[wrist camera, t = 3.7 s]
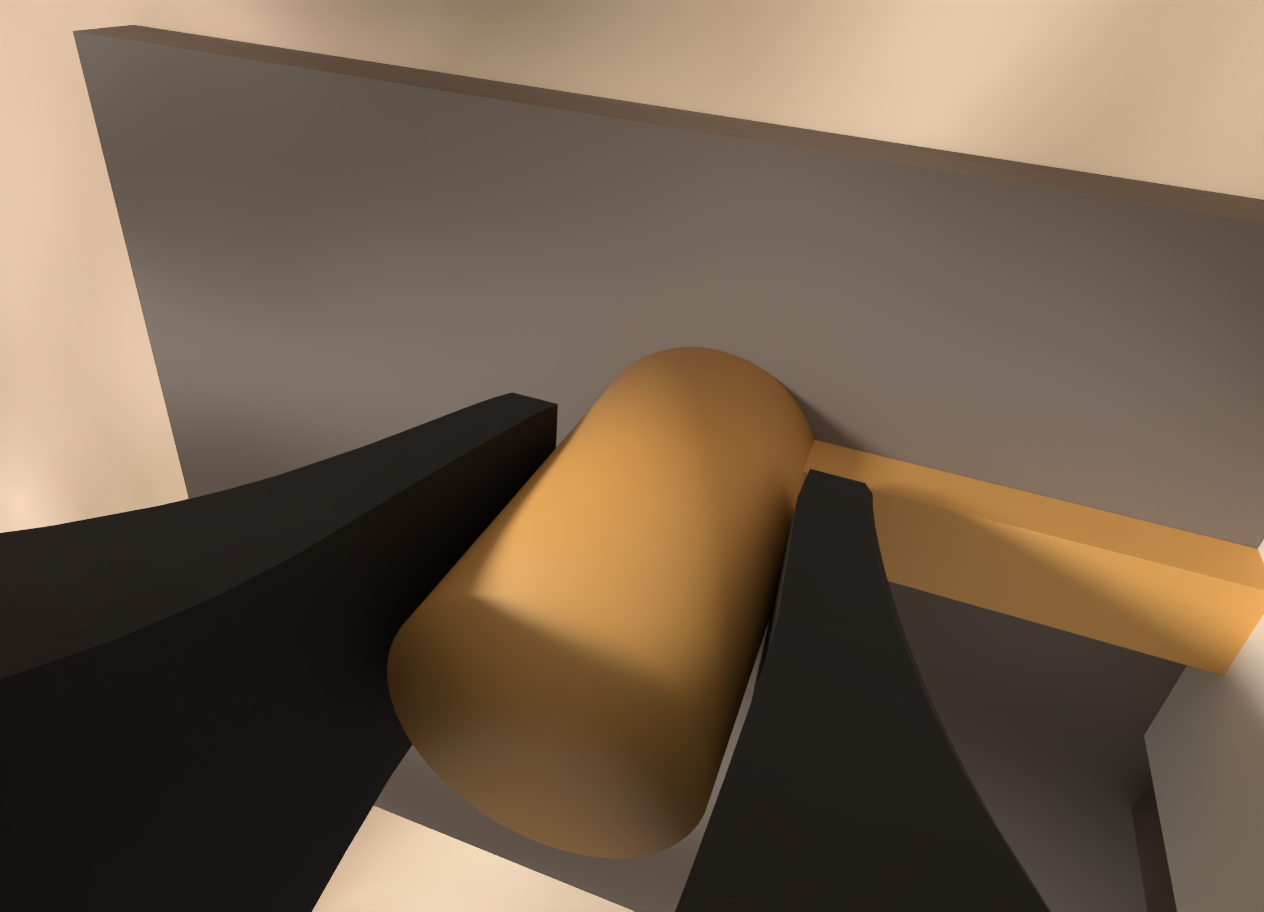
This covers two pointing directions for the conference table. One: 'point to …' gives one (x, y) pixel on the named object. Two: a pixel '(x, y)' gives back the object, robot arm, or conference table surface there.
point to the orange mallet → (742, 605)
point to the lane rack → (716, 319)
